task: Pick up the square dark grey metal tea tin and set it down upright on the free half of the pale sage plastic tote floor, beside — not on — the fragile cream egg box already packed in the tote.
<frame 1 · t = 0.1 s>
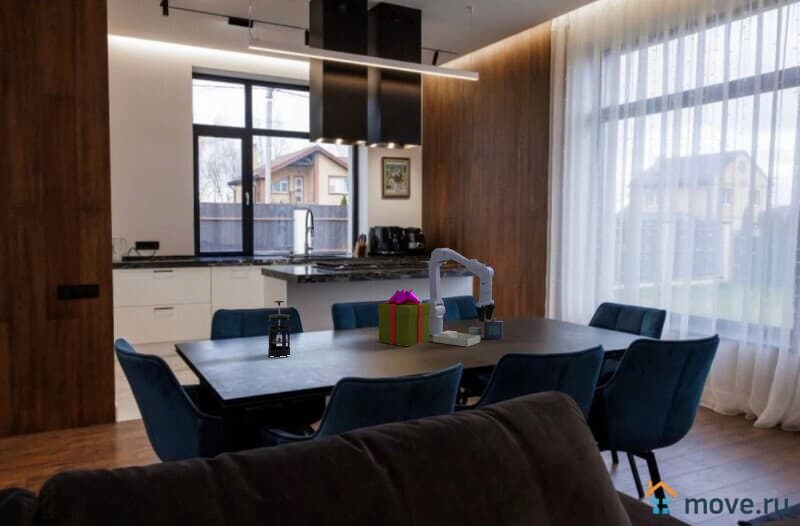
hand: (485, 320, 273), 10 cm above the table, tool pointing down, fingers open, 7 cm apart
french press: (278, 356, 240), on the table
gift box: (403, 342, 271), on the table
tin: (474, 340, 277), on the table
tote: (456, 343, 270), on the table
egg box: (448, 340, 272), point 1 cm above the table, touching tote
flask: (493, 339, 280), on the table
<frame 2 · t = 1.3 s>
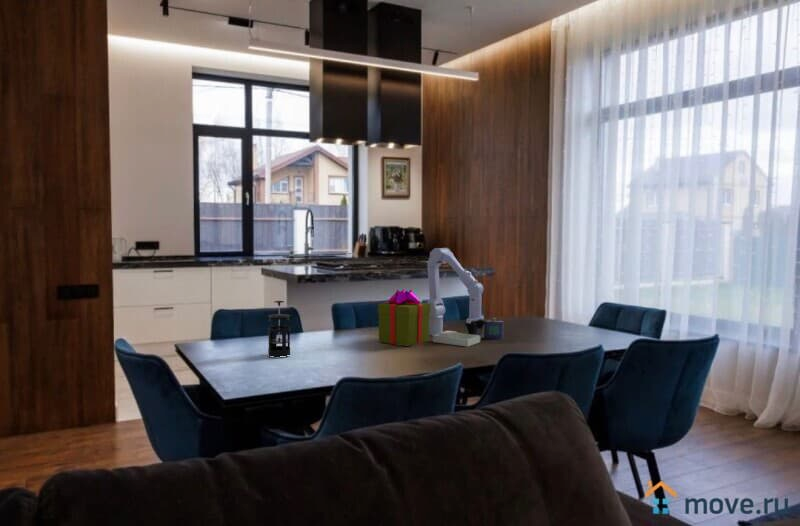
hand: (475, 336, 277), 2 cm above the table, tool pointing down, fingers open, 6 cm apart
flask: (493, 339, 280), on the table, touching gripper
everything else where it was.
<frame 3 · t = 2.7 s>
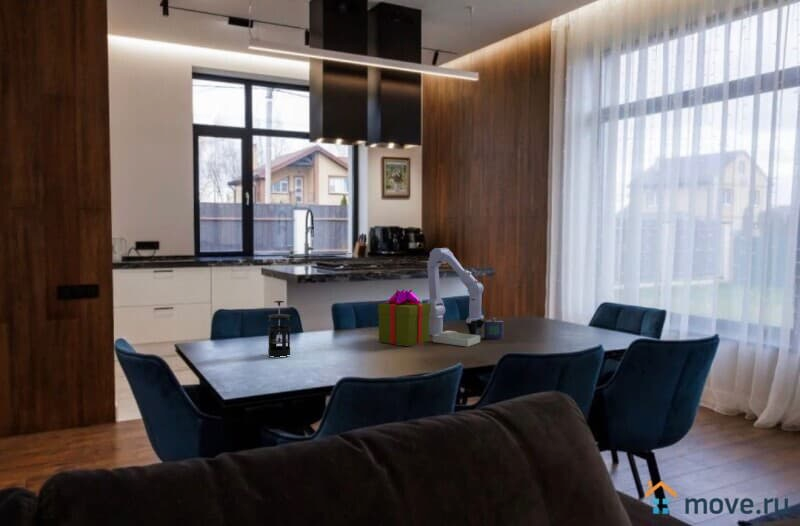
hand: (474, 335, 277), 2 cm above the table, tool pointing down, fingers closed on tin, 4 cm apart
tin: (474, 339, 277), on the table, touching gripper
flask: (493, 339, 280), on the table
everything else where it was.
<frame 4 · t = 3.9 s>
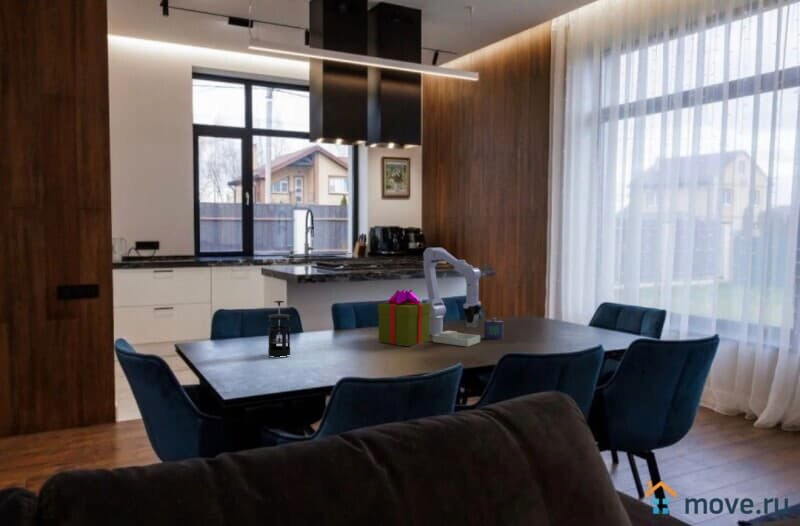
hand: (472, 322, 273), 9 cm above the table, tool pointing down, fingers closed on tin, 4 cm apart
tin: (472, 326, 273), point 7 cm above the table, touching gripper
everything else where it was.
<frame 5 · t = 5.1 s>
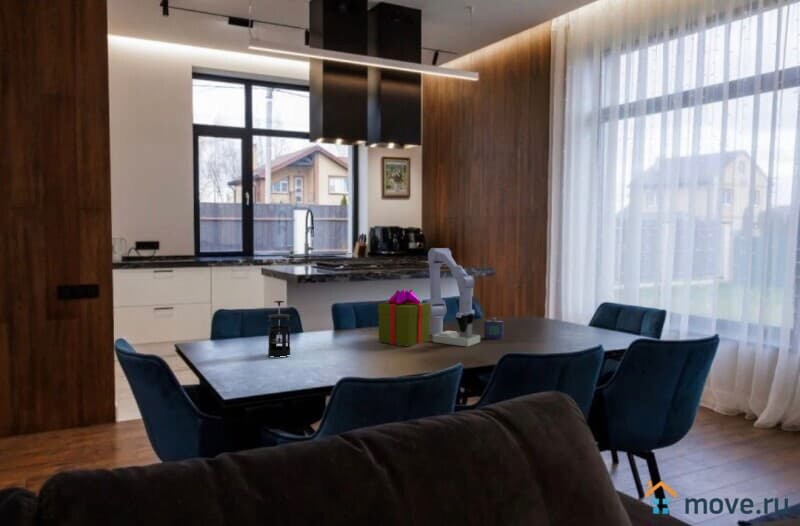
hand: (465, 331, 267), 6 cm above the table, tool pointing down, fingers closed on tin, 4 cm apart
tin: (465, 336, 267), point 4 cm above the table, touching gripper
everything else where it was.
when the fingers open (3 cm above the table, at t = 6.0 s): tin stays where it is, resting on tote.
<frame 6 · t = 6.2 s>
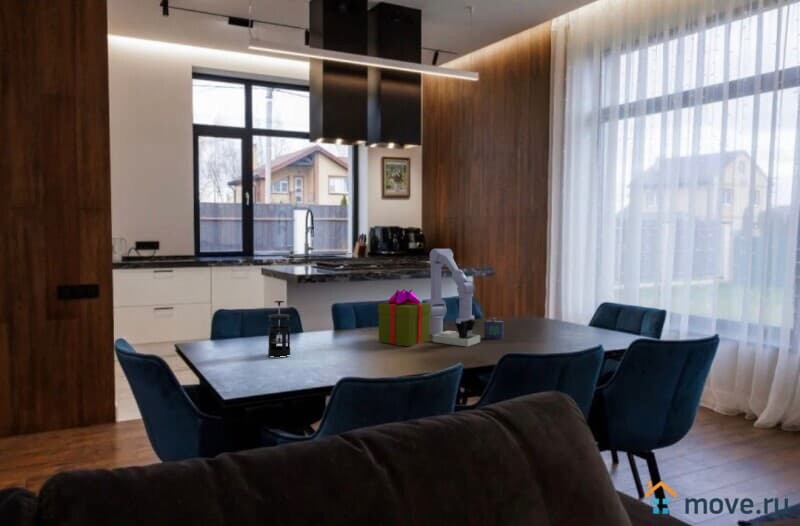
hand: (465, 336, 267), 3 cm above the table, tool pointing down, fingers open, 6 cm apart
tin: (465, 342, 267), point 1 cm above the table, touching tote
everything else where it was.
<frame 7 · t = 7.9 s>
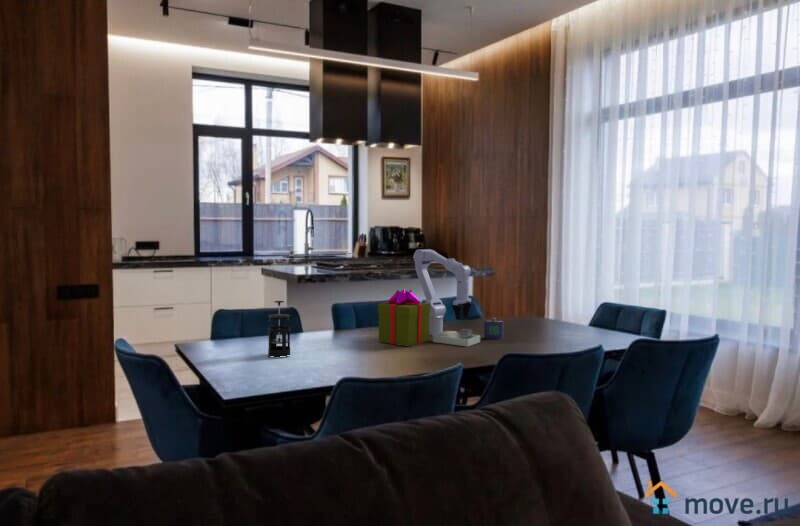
hand: (462, 318, 278), 10 cm above the table, tool pointing down, fingers open, 7 cm apart
nothing on the table moved.
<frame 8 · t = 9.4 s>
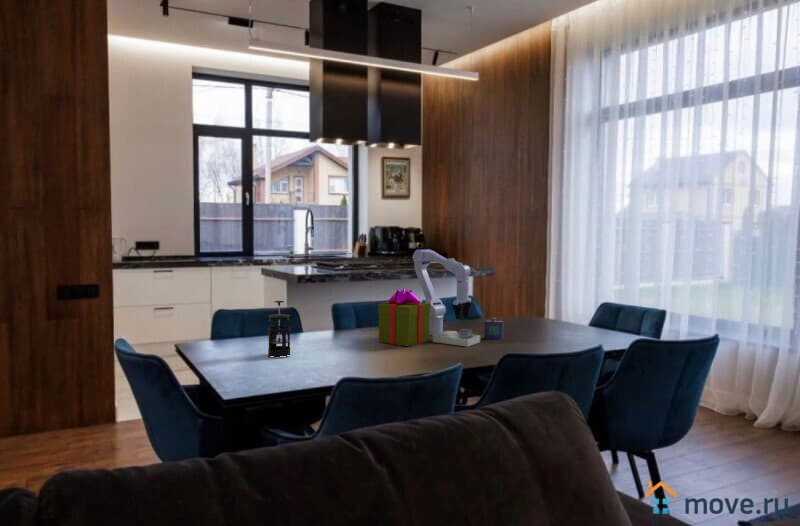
hand: (462, 318, 278), 10 cm above the table, tool pointing down, fingers open, 7 cm apart
nothing on the table moved.
at the end: tin inside the target area on the tote (0.2 cm from its centre), point 0.6 cm above the tote's base; tin tilted 0°; tin touching tote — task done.
